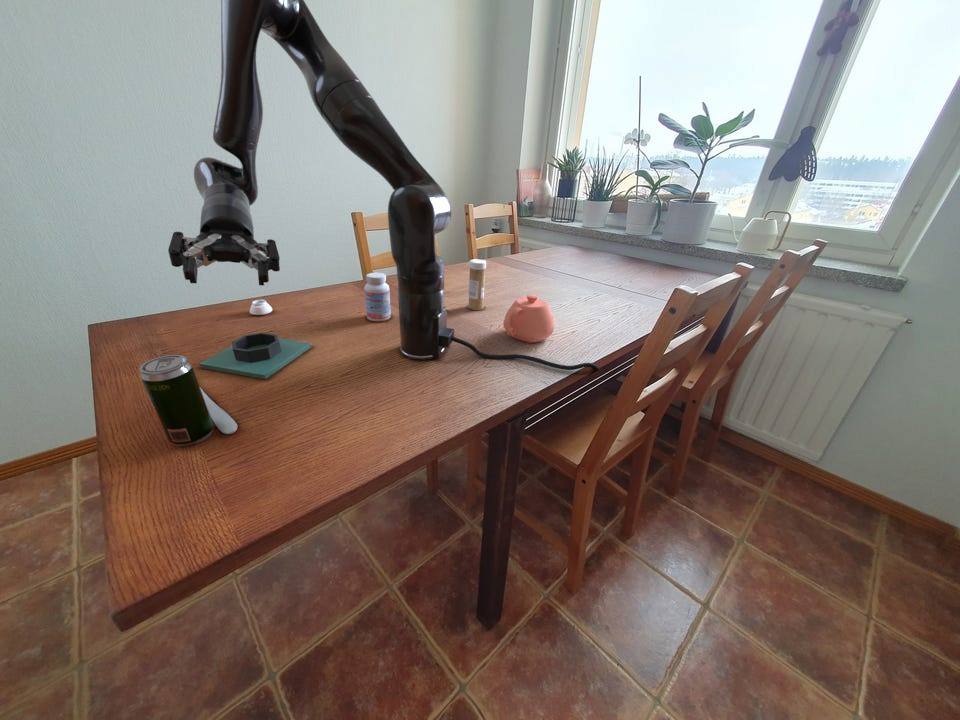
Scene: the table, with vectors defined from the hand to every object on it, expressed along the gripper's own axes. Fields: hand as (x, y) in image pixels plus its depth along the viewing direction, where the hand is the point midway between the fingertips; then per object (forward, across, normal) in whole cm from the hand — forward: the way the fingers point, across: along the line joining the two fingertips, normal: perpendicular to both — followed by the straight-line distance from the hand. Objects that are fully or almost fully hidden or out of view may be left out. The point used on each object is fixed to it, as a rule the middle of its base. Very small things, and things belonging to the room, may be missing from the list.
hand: (228, 279), depth 55 cm
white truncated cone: (-30, +4, +32) cm, 44 cm away
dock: (-6, +3, +23) cm, 24 cm away
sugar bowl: (+3, +60, +12) cm, 61 cm away
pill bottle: (-18, +30, +24) cm, 43 cm away
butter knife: (+6, -6, +20) cm, 22 cm away
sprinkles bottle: (-17, +57, +20) cm, 63 cm away
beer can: (+15, -6, +17) cm, 24 cm away
